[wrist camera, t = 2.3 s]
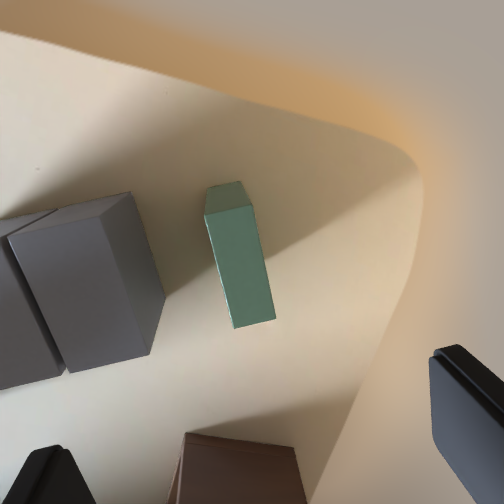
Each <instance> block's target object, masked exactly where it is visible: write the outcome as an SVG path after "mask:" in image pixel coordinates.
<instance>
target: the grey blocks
mask: <svg viewBox="0 0 504 504" xmlns="http://www.w3.org/2000/svg"><path fill="white" fill-rule="evenodd" d="M165 299H166V297H165V294H164V291H163V287H162V284H161V281H160V278H159V275H158V272H157V269H156V266H155V263H154V260H153V256H152V253H151V250H150V247H149V244H148V241H147V238H146V235H145V232H144V229H143V225H142V222H141V219H140V216H139V213H138V210H137V207H136V204H135V201H134V198H133V194H132V192H126V193H122V194H117V195H113V196H108V197H104V198H100V199H95V200H91V201H86V202H82V203H77V204H73V205H68V206H65V207H63V208H61V209H58V208H55V209H51V210H46V211H42V212H37V213H33V214H28V215H24V216H20V217H15V218H11V219H6V220H2V221H0V390H2V389H7V388H11V387H15V386H19V385H24V384H28V383H32V382H36V381H40V380H45V379H49V378H53V377H57V376H61V375H62V373H63V372H64V370H65V369H66V367H67V368H68V371H69V373H75V372H79V371H83V370H87V369H92V368H96V367H100V366H104V365H109V364H113V363H117V362H121V361H126V360H130V359H134V358H138V357H143V356H147V355H149V354H150V351H151V347H152V344H153V341H154V337H155V334H156V330H157V327H158V323H159V320H160V316H161V313H162V309H163V306H164V302H165Z"/></svg>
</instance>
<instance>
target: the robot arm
mask: <svg viewBox="0 0 504 504" xmlns="http://www.w3.org/2000/svg"><path fill="white" fill-rule="evenodd" d="M429 377H430V396H431V417H432V434H433V439H434V442H435V445H436V446H437V448H438V450H439V452H440V453H441V454H442V456H443V457H444V459H445V460H446V461H447V463H448V464H449V466H450V467H451V468H452V470H453V471H454V473H455V474H456V475H457V477H458V478H459V480H460V481H461V482H462V484H463V485H464V487H465V488H466V489H467V491H468V492H469V493H470V495H471V496H472V498H473V499H474V500H475V502H476V503H477V504H504V382H503V381H502V380H501V379H500V378H498V377H497V376H496V375H495V374H494V373H493V372H491V371H490V370H489V369H488V368H487V367H486V366H484V365H483V364H482V363H481V362H480V361H479V360H477V359H476V358H475V357H474V356H472V354H470V353H469V352H468V351H467V350H466V349H465V348H463V347H462V346H461V345H458V344H456V345H452V346H448V347H444V348H440V349H436V350H435V351H434V356H433V357H430V358H429ZM2 504H96V502H95V500H94V498H93V496H92V494H91V492H90V490H89V488H88V486H87V484H86V482H85V480H84V478H83V476H82V474H81V472H80V470H79V468H78V466H77V464H76V462H75V460H74V458H73V456H72V454H71V452H70V451H69V450H68V449H63V448H62V446H60V445H53V446H49V447H45V448H41V449H37V450H34V451H33V452H31V453H30V455H29V456H28V458H27V460H26V461H25V463H24V465H23V467H22V469H21V470H20V472H19V474H18V476H17V478H16V480H15V481H14V483H13V485H12V487H11V489H10V490H9V492H8V494H7V496H6V498H5V499H4V501H3V503H2Z"/></svg>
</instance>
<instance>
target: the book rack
mask: <svg viewBox="0 0 504 504" xmlns="http://www.w3.org/2000/svg"><path fill="white" fill-rule="evenodd" d="M165 504H307V500H306V496H305V492H304V488H303V484H302V480H301V476H300V472H299V468H298V464H297V460H296V455H295V451H294V448H292V447H285V446H277V445H270V444H263V443H256V442H249V441H242V440H234V439H227V438H220V437H213V436H206V435H199V434H191V433H185V435H184V439H183V442H182V446H181V450H180V453H179V457H178V460H177V464H176V468H175V471H174V475H173V478H172V482H171V486H170V489H169V493H168V496H167V500H166V503H165Z"/></svg>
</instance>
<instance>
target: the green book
mask: <svg viewBox="0 0 504 504" xmlns="http://www.w3.org/2000/svg"><path fill="white" fill-rule="evenodd" d="M204 218H205V222H206V226H207V229H208V233H209V237H210V241H211V245H212V249H213V253H214V256H215V260H216V264H217V268H218V272H219V276H220V279H221V283H222V287H223V291H224V295H225V299H226V302H227V306H228V310H229V314H230V318H231V322H232V326H233V328H234V329H235V328H240V327H244V326H248V325H252V324H257V323H261V322H265V321H269V320H274V319H276V314H275V309H274V304H273V299H272V295H271V290H270V285H269V280H268V276H267V271H266V266H265V262H264V257H263V252H262V247H261V243H260V238H259V233H258V228H257V224H256V219H255V214H254V209H253V205H252V203H251V201H250V199H249V197H248V195H247V193H246V191H245V189H244V187H243V185H242V183H241V181H237V182H233V183H228V184H224V185H220V186H215V187H211V188H208V189H207V196H206V204H205V213H204Z"/></svg>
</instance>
